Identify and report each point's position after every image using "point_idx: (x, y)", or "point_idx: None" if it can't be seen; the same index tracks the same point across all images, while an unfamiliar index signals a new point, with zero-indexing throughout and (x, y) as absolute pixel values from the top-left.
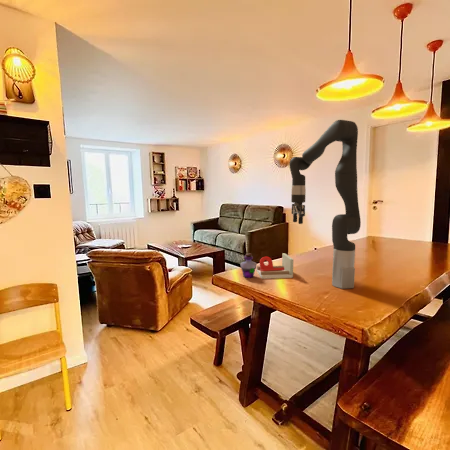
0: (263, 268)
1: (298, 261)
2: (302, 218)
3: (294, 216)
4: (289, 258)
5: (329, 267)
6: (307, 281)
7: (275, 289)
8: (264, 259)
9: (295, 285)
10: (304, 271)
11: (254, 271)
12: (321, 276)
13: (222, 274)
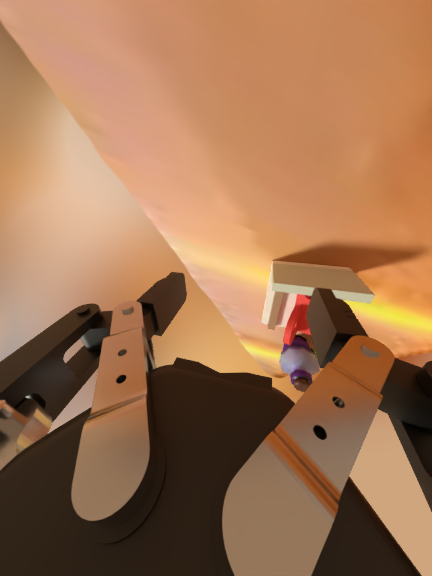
0: (297, 327)
1: (184, 177)
2: (364, 334)
3: (163, 323)
4: (353, 300)
5: (288, 58)
6: (406, 243)
7: (409, 333)
8: (291, 337)
9: (415, 287)
10: (305, 207)
11: (301, 342)
12: (388, 169)
13: (267, 368)
